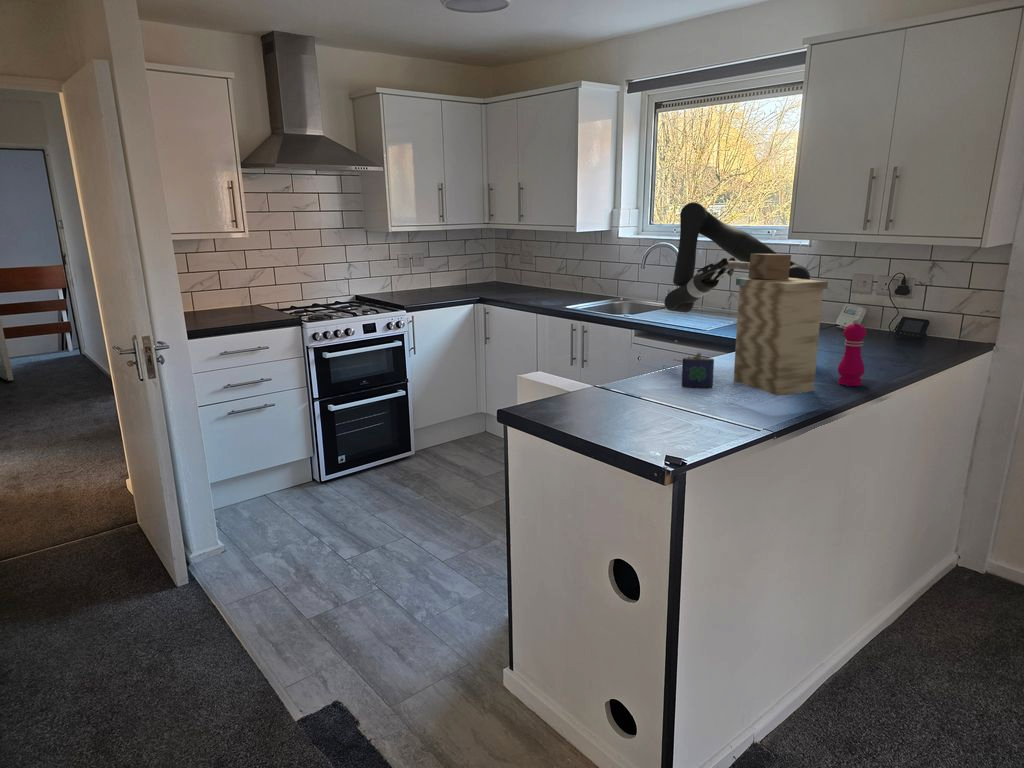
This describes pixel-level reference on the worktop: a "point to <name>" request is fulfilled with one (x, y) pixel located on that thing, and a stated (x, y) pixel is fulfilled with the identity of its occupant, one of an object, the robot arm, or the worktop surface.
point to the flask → (697, 372)
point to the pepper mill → (852, 355)
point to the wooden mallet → (764, 266)
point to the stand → (778, 334)
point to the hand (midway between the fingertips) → (730, 260)
